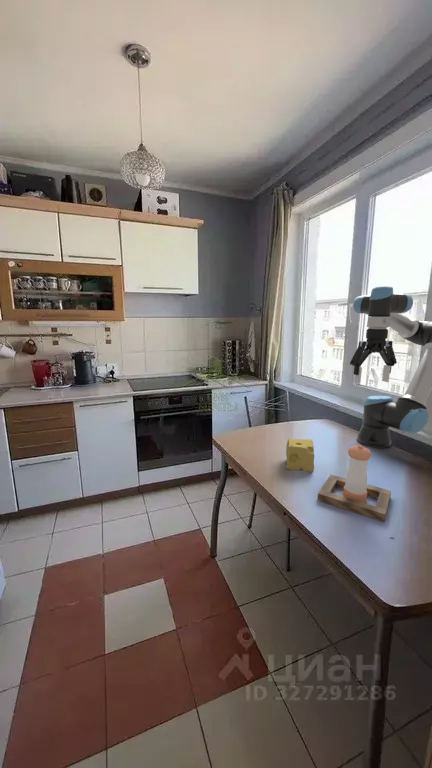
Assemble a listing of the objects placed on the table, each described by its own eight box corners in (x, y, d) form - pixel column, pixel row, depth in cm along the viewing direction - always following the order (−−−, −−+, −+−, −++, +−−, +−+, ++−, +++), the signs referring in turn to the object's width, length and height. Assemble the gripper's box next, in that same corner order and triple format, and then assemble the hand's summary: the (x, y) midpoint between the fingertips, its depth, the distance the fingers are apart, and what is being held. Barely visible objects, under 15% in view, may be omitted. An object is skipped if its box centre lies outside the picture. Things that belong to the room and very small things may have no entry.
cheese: (313, 472, 124) (315, 448, 122) (285, 469, 126) (287, 446, 124) (311, 461, 134) (313, 439, 132) (285, 458, 136) (286, 437, 134)
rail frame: (390, 497, 107) (391, 490, 107) (384, 521, 94) (385, 514, 94) (330, 480, 118) (330, 474, 118) (317, 500, 105) (317, 493, 105)
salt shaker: (364, 507, 101) (371, 451, 98) (340, 500, 105) (346, 446, 101) (367, 497, 108) (374, 444, 104) (344, 490, 111) (350, 439, 107)
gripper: (357, 328, 115) (351, 385, 119) (411, 328, 121) (404, 382, 126) (343, 328, 122) (338, 381, 126) (395, 328, 128) (389, 379, 133)
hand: (371, 382), depth 126 cm, fingers open, 13 cm apart
